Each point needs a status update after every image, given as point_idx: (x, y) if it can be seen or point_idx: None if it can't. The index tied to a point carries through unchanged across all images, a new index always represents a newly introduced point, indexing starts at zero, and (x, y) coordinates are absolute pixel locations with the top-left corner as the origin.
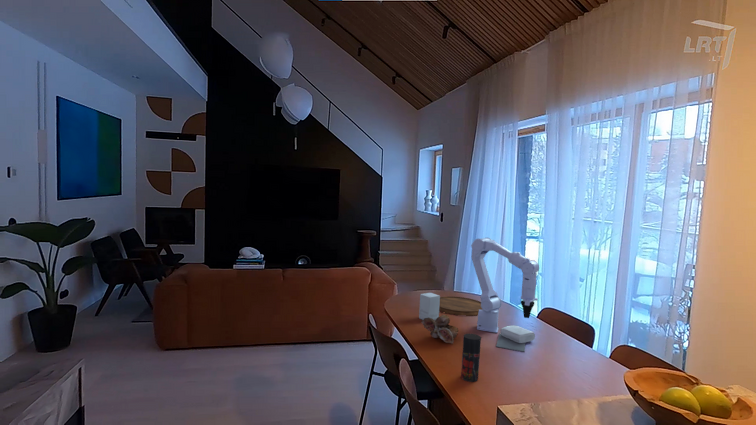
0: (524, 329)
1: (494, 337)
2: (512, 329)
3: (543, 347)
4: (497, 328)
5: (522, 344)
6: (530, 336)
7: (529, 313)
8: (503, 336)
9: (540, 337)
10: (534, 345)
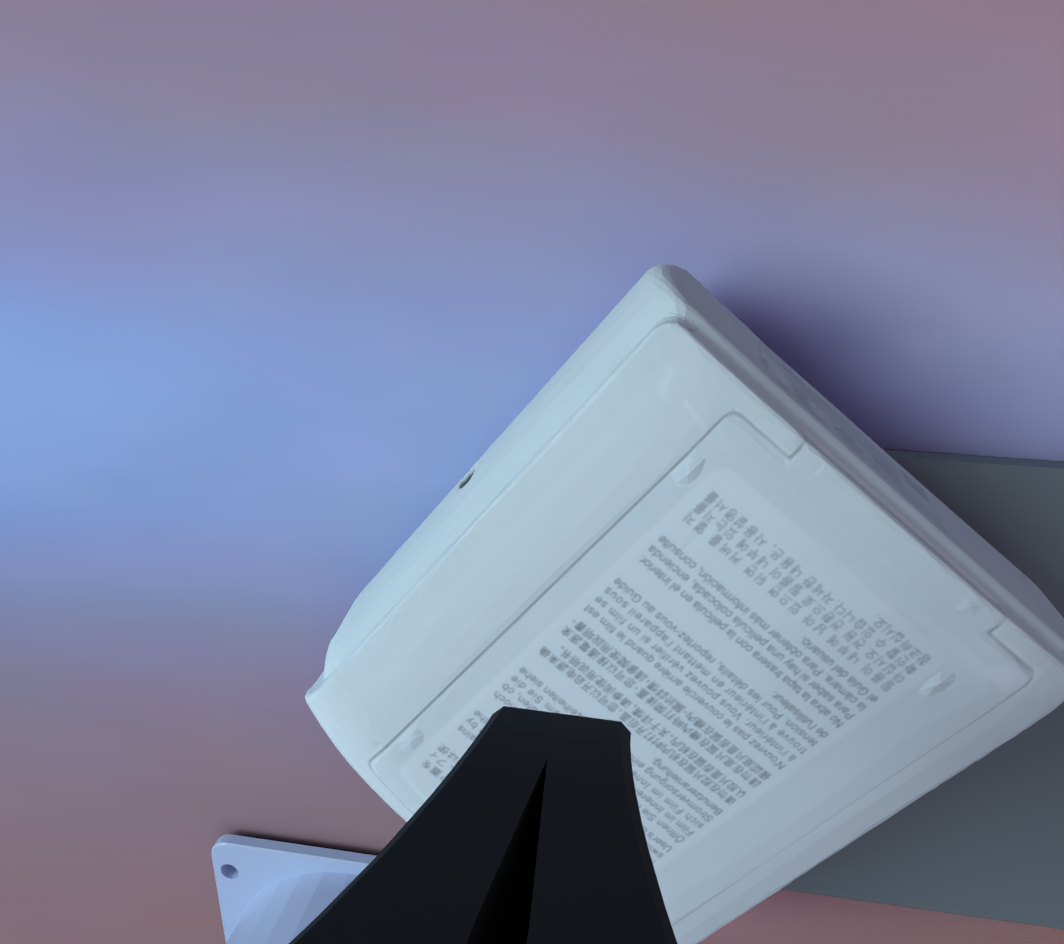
0: (571, 565)
1: (734, 919)
2: (714, 822)
3: (970, 32)
4: (299, 866)
5: (1009, 516)
6: (797, 392)
7: (641, 901)
8: None
9: (261, 94)
10: (900, 252)
